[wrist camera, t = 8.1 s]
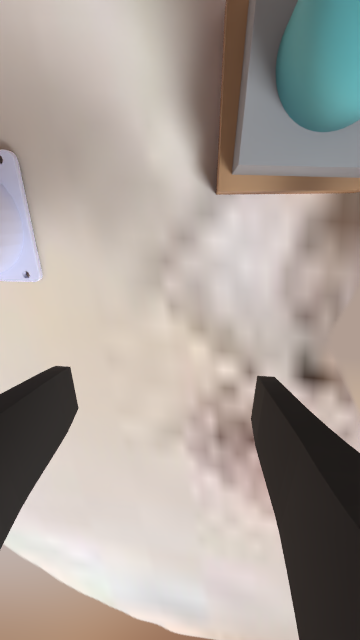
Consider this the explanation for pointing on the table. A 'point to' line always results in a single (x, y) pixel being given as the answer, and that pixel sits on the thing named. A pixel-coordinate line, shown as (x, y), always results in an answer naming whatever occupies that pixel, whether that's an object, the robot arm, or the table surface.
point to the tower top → (281, 112)
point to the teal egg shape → (321, 64)
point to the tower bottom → (228, 121)
